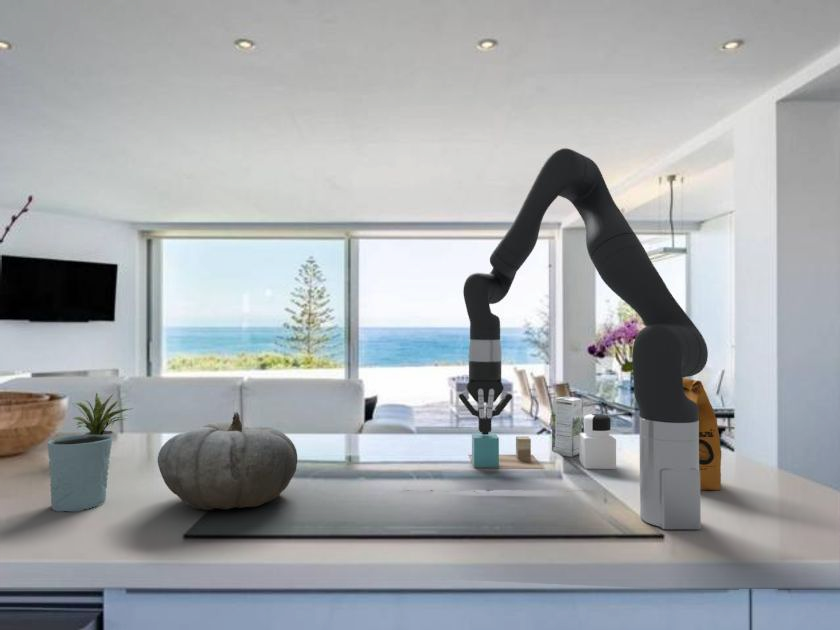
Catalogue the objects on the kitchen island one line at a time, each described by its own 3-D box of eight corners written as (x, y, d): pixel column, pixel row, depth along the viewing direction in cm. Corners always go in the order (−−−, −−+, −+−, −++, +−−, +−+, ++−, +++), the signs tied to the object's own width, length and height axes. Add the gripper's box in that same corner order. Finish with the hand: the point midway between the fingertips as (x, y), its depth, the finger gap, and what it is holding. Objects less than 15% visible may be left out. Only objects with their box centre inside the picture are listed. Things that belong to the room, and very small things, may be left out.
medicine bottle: (609, 462, 136) (608, 412, 136) (616, 469, 129) (616, 417, 129) (579, 461, 137) (578, 412, 137) (584, 469, 130) (584, 417, 130)
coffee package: (677, 491, 112) (676, 381, 113) (657, 474, 125) (656, 375, 125) (729, 492, 111) (728, 381, 112) (703, 476, 124) (702, 376, 124)
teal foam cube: (498, 467, 127) (498, 438, 127) (474, 467, 127) (474, 438, 127) (495, 461, 133) (495, 433, 133) (471, 461, 133) (471, 433, 133)
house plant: (100, 467, 130) (101, 397, 131) (47, 465, 132) (48, 396, 133) (140, 454, 144) (141, 390, 145) (92, 452, 146) (93, 389, 147)
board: (545, 473, 126) (545, 446, 126) (473, 473, 126) (473, 446, 126) (532, 458, 140) (532, 434, 140) (468, 458, 140) (468, 434, 140)
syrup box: (561, 450, 149) (561, 396, 149) (582, 454, 145) (582, 397, 146) (551, 454, 145) (551, 398, 145) (573, 457, 141) (572, 400, 141)
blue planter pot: (37, 515, 97) (38, 445, 97) (58, 498, 107) (59, 435, 107) (102, 510, 100) (103, 442, 100) (117, 494, 110) (118, 432, 110)
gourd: (145, 517, 88) (161, 406, 92) (155, 499, 111) (167, 411, 114) (305, 515, 97) (313, 414, 101) (283, 499, 120) (290, 417, 123)
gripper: (457, 360, 127) (457, 437, 126) (516, 360, 127) (516, 437, 126) (455, 358, 134) (455, 431, 134) (510, 358, 134) (510, 431, 134)
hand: (485, 433), depth 130 cm, fingers closed
